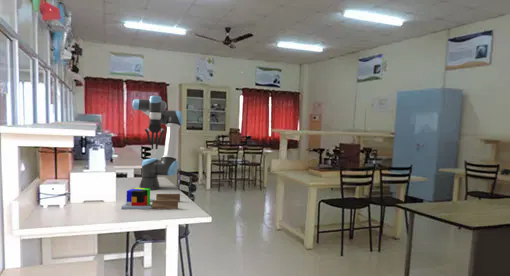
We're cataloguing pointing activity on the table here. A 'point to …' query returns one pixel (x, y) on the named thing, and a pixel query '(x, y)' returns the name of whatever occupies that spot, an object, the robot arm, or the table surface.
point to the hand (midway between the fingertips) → (154, 153)
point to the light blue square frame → (135, 206)
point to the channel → (166, 201)
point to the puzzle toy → (138, 197)
